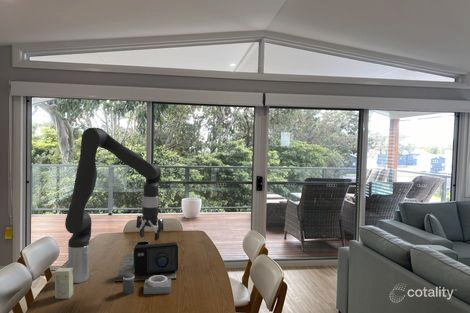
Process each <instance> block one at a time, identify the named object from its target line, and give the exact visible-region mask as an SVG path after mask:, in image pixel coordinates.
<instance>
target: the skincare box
mask: <svg viewBox="0 0 470 313" xmlns="http://www.w3.org/2000/svg"><path fill="white" fill-rule="evenodd" d="M54 294H55V295H54V298H55V299H58V300H60V299H61V300H63V299H71V298H72V296H73V295H74V283H73V268H67V267H58V268H57V269H56V270H54Z"/></svg>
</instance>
